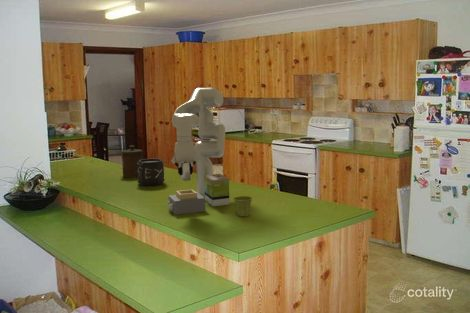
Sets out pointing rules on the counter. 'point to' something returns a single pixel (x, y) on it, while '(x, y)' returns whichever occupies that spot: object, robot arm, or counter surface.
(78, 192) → the counter surface
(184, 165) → the spout can
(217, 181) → the tea box
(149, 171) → the black lettered box
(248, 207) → the plant pot
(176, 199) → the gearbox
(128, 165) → the wooden container
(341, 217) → the counter surface
